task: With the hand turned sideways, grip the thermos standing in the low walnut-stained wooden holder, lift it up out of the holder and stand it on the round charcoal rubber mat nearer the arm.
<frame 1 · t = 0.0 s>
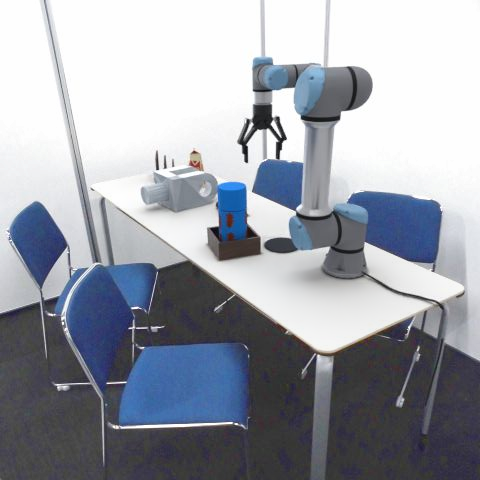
hand: (262, 160, 190), 28 cm above the table, tool pointing down, fingers open, 13 cm apart
mat: (282, 245, 187), on the table
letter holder: (166, 177, 271), on the table
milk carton: (197, 185, 258), on the table
holder: (233, 248, 186), on the table
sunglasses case: (232, 212, 221), on the table
thermos: (233, 249, 186), resting in holder
grey clevis bracket: (178, 204, 232), on the table
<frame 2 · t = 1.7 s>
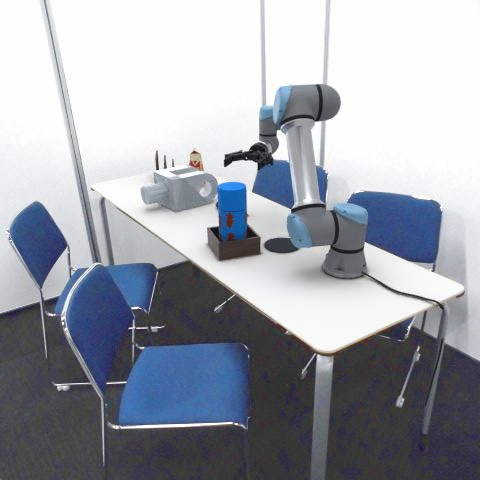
hand: (241, 165, 177), 30 cm above the table, tool horizontal, fingers open, 13 cm apart
nothing on the table moved.
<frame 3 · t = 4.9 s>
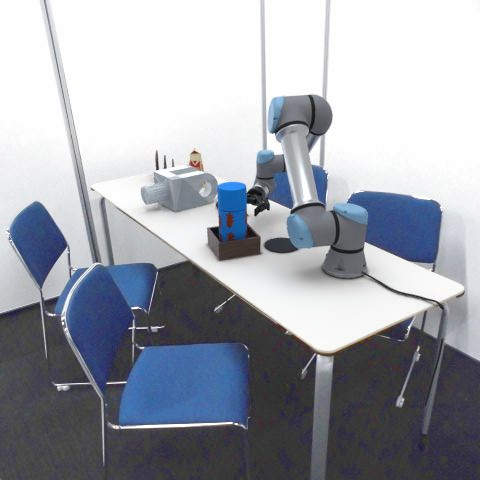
hand: (238, 210, 183), 13 cm above the table, tool horizontal, fingers open, 13 cm apart
nothing on the table moved.
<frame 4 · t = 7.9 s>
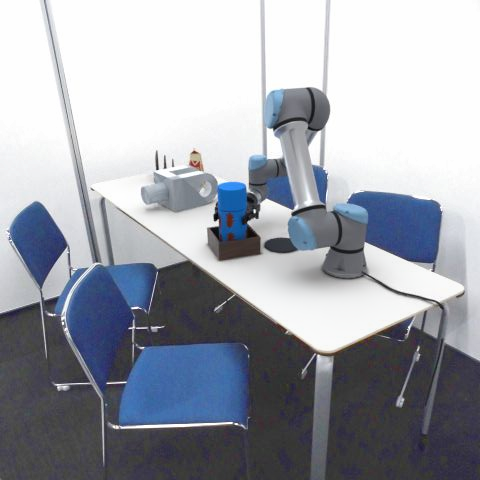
hand: (228, 219, 175), 13 cm above the table, tool horizontal, fingers closed on thermos, 11 cm apart
thermos: (233, 249, 186), resting in holder, touching gripper
everything else where it was.
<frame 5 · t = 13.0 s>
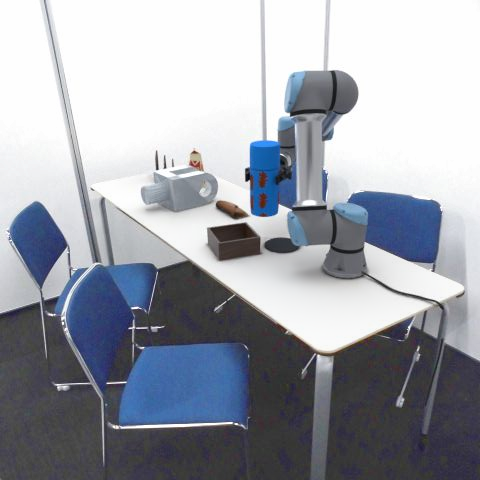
hand: (261, 179, 168), 28 cm above the table, tool horizontal, fingers closed on thermos, 11 cm apart
thermos: (264, 212, 179), point 14 cm above the table, touching gripper
everything else where it was.
when the fingers open (14 cm above the table, at t = 18.3 s): thermos stays where it is, resting on mat.
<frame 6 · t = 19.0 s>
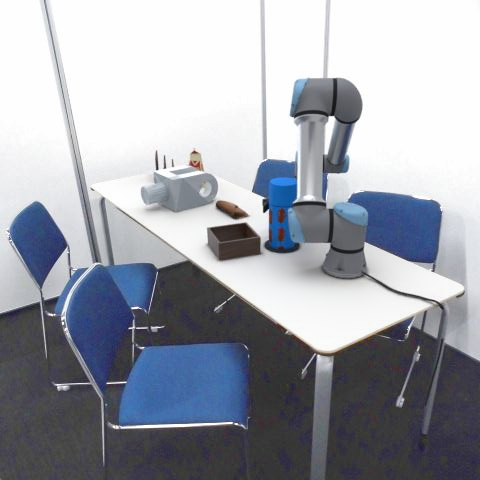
hand: (280, 211, 177), 15 cm above the table, tool horizontal, fingers open, 13 cm apart
thermos: (282, 244, 187), resting on mat
everything else where it was.
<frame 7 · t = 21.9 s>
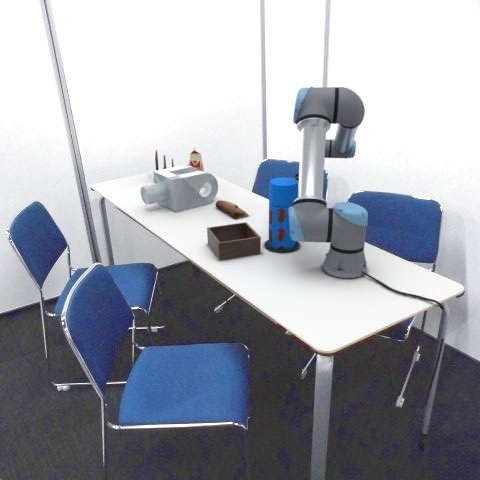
hand: (290, 192, 185), 19 cm above the table, tool horizontal, fingers open, 13 cm apart
nothing on the table moved.
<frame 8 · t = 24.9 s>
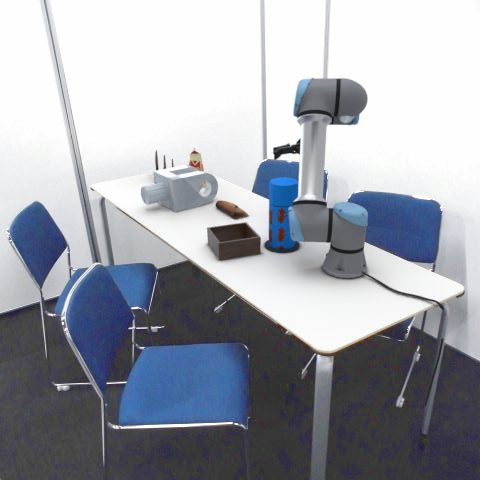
hand: (292, 157, 177), 32 cm above the table, tool horizontal, fingers open, 13 cm apart
nothing on the table moved.
at the end: thermos inside the target area on the mat (0.1 cm from its centre), point 0.4 cm above the mat's base; thermos tilted 0°; the gripper is holding nothing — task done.
